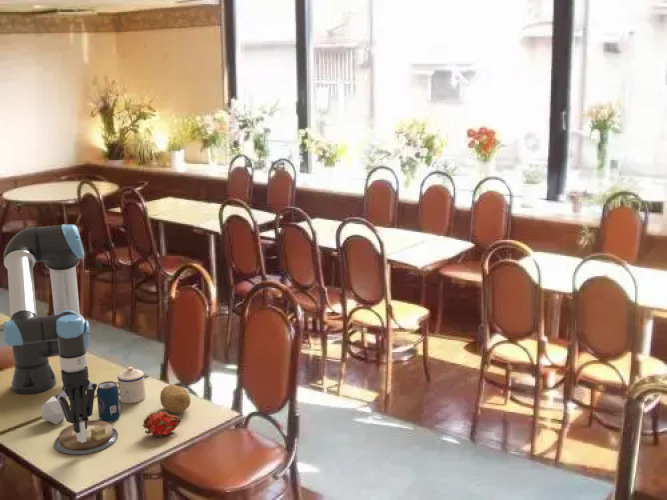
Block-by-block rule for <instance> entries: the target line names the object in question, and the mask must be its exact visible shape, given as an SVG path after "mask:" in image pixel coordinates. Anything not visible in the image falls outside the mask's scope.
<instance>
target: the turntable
mask: <svg viewBox="0 0 667 500" xmlns="http://www.w3.org/2000/svg"><path fill="white" fill-rule="evenodd" d="M112 428H113V426H112V424H111V423H110V422H105V421H102V420H99V419H97V420H96V419H95V420H94V419H91V420H88V421H87V429H86V440H87V441H86V442H83V443H81V442H79V441H77V435H76V432H74V427H73V424H72V423H71V424H69V425H67V426H66V427H64V428H63V429H62V430H61V431H60V432H59V434H58V437H59V441H60V444H61V446H63V447H64V448H67V449H71V450H85V449H91V448H95V447H98V446H100V445H103V444H105V443H106V442H108V441H109V440H110V439H111V438H112V436H113V429H112Z"/></svg>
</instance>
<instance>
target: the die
mask: <svg viewBox="0 0 667 500" xmlns="http://www.w3.org/2000/svg"><path fill="white" fill-rule="evenodd" d="M40 413H41V418H42V419H43V420H45V421H47V422H49V423H51V424H54V425H58V424H59V423H60V422H61V421H62V420H63V419H65V416H64V413H63V410H62V408H61V405H60V402H59V401H58V400H57V399H56V396H54V395H52V396H51V397H50V398H49V399H47V401H46V402H45V403H43V404H42V405H41V407H40Z"/></svg>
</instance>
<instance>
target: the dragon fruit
mask: <svg viewBox="0 0 667 500" xmlns="http://www.w3.org/2000/svg"><path fill="white" fill-rule="evenodd" d="M180 422H181V419H180V417H178V415H171V414H170V413H169V411H164V412H162V411H160V410H159V411H157V412H150V413H149V414H148V415H147V416H146V418H145V419H144V420H143V424H142V427H143V428H144V429H147V430H145V433H144V434H146V435H150V434H152V435H153V436H154V437H156V436H157V437H158V438H159V439H161V438H162V437H163V436H171V435H173V434H174V433H175V430H176V428H178V425H179V424H180Z"/></svg>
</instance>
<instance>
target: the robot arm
mask: <svg viewBox="0 0 667 500" xmlns="http://www.w3.org/2000/svg"><path fill="white" fill-rule="evenodd" d="M84 254H85V253H84V249H83V244H82V239H81V235H80V232H79V228H78V226H77V225H76V224H73V223H72V224H71V223H70V224H66V223H64V224H61V225H60V224H59V225H50V226H49V225H48V226H36V227H35V226H34V227H33V226H32V227H27V228H24V229H22V230H20V231H19V232H17V233H16V234H15V235H13V237H12V238H11V239H10V240H9V242H8V243H7V245H6V247H5V249H4V252H3V266H4V267H5V269H7V279H8V281H7V282H8V299H9V313H10V314H9V316H10V317H9V318H10V320H7V321H4V323H3V325H2V326H3V335H4V336H3V337H4V343H5V344H6V346H9V347H10V346H11V347H12V353H13V362H14V363H13V364H14V372H13V376H12V380H11V390H12V391H13V392H14V393H16V394H21V395H22V394H23V395H30V394H31V395H32V394H38V393H42V392H45V391H48V390H50V389H51V388H53V387H55V386H56V384H57V378H56V374H55V372H54V371H53V369H52V367H51V365H50V361H49V360H50V359H49V358H53V357H59V364H60V366H59V367H60V369H61V370H60V375H61V381H62V388H61V389H62V391H61V392H60V393H59V394H56V396H55V397H56V399H57V400H58V401H59V402H60V405H61V408H62V410H63V413H64V416H65V417H64V419H65V421H66V422H67V423H70V424H71V425H72V424H73V427H74V432H76V435H77V441H79V442H81V443H83V442H86V441H87V440H86V429H87V421H89V419H90V418H89V417H92V415H93V409H94V401H95V393H96V391H97V388H98V384H97V383H94V382H92V381H90V380H89V377H90V376H89V367H88V366H87V365H88V359H87V351H88V350H89V347H90V337H91V336H90V333H91V332H90V331H91V330H90V329H91V328H90V323H89V321H88V319H85V318H84V316H83V315H82V314H81V313H80V302H79V300H80V299H79V290H78V289H79V288H78V278H77V276H78V275H77V268H76V267H77V266H78V265H79V263H80V262H81V259H82V258H84V256H85V255H84ZM40 262H41V263H42V262H43V263H44V266H45V267H46V268H47V269H49V276H50V285H51V294H52V303H53V304H52V305H53V313H54V315H47V316H38V315H37V314H38V313H37V304H36V303H37V302H36V291H35V280H34V279H35V278H34V267H35V265H36V263H40ZM67 397H68V398H67ZM67 399H68V400H67ZM68 401H69V402H68Z"/></svg>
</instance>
